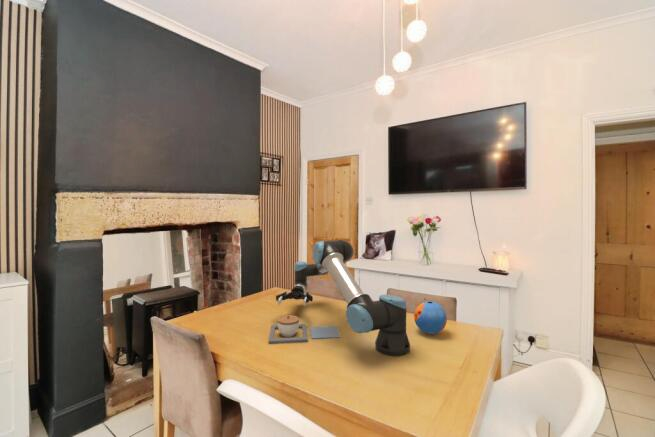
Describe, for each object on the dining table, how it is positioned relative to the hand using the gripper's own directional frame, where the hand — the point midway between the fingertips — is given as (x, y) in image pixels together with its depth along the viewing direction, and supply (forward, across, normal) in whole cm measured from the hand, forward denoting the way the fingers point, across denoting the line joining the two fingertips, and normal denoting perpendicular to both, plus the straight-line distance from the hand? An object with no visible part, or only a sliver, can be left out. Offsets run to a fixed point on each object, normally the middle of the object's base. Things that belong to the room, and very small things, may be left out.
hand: (291, 302), depth 166 cm
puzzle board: (+10, 0, -12) cm, 16 cm away
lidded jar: (+10, 0, -13) cm, 16 cm away
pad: (+7, -18, -12) cm, 23 cm away
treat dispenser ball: (+4, -70, -12) cm, 71 cm away
